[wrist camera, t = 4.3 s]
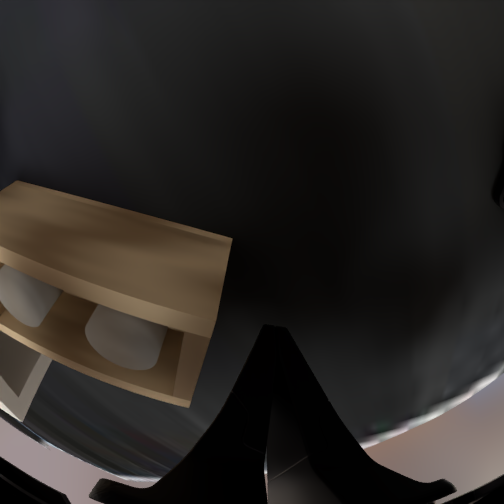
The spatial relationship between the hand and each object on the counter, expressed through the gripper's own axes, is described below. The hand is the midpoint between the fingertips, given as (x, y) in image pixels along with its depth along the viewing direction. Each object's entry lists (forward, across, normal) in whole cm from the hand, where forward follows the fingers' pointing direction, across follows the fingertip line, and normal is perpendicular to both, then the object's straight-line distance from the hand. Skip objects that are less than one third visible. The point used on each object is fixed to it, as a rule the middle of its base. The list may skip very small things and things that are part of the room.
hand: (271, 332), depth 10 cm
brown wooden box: (+2, +7, 0) cm, 7 cm away
